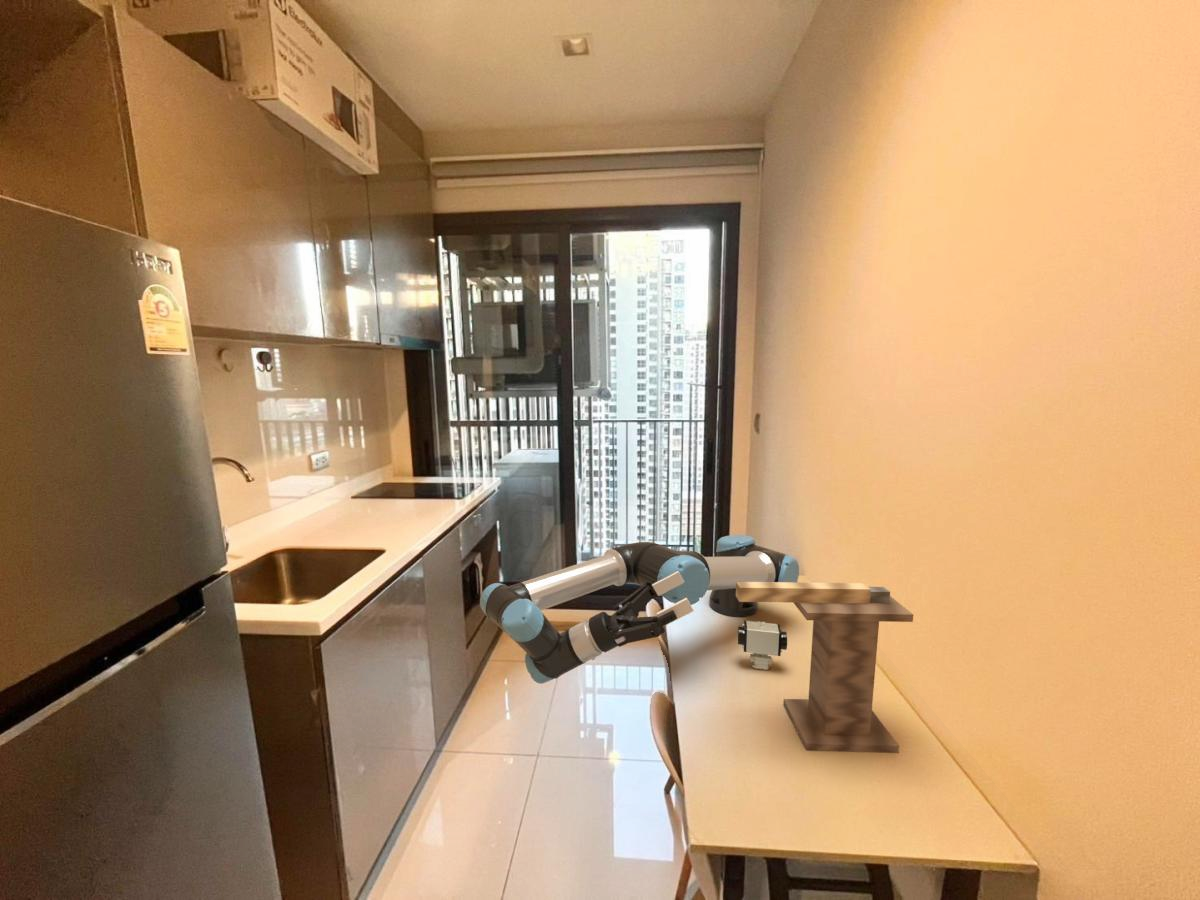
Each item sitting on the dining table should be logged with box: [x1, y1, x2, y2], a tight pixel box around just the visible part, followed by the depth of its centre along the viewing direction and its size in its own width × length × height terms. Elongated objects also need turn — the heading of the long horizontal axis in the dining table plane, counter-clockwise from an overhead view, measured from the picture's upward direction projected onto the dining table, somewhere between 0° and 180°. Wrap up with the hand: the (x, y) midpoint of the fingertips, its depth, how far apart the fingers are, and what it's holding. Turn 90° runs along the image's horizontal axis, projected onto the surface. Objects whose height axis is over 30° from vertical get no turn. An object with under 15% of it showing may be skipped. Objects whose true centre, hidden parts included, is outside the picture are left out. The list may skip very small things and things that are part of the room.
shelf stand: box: [782, 595, 914, 754], centre depth 104 cm, size 20×14×28 cm
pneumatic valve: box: [737, 620, 788, 671], centre depth 128 cm, size 6×12×12 cm, turn 77°
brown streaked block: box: [736, 581, 891, 604], centre depth 102 cm, size 30×3×3 cm, turn 88°
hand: (685, 589), depth 103 cm, fingers open, 13 cm apart
